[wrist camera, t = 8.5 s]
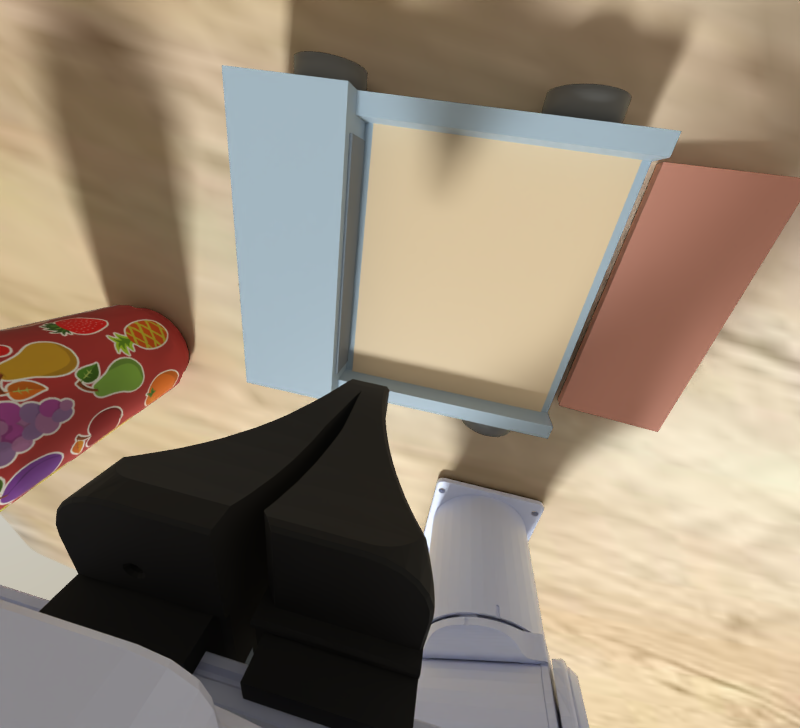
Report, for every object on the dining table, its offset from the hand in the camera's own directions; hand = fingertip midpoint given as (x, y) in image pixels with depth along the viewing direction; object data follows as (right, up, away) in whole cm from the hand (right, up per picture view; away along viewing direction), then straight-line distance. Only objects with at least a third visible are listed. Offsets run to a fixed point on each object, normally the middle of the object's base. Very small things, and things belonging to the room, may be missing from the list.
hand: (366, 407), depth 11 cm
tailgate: (+12, +5, +7) cm, 15 cm away
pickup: (+3, +7, +8) cm, 11 cm away
